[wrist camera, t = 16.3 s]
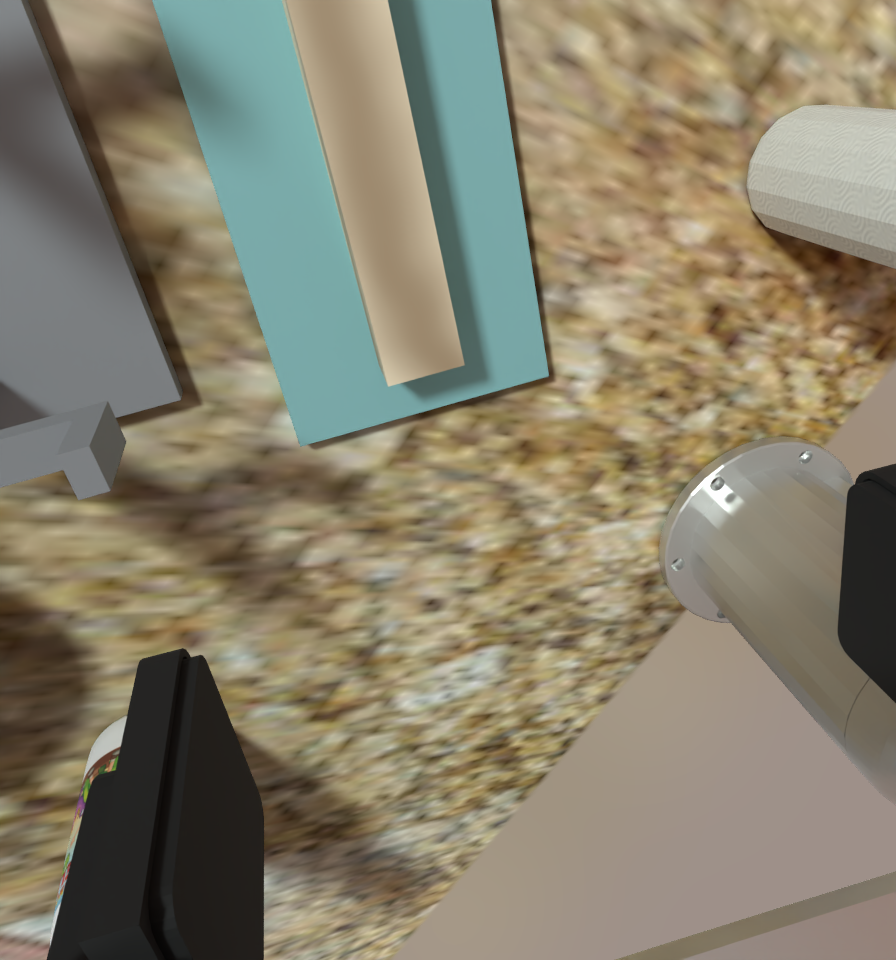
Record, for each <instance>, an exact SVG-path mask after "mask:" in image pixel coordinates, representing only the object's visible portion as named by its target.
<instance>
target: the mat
mask: <svg viewBox="0 0 896 960" xmlns="http://www.w3.org/2000/svg"><path fill="white" fill-rule="evenodd" d="M152 1H153V4H154V7H155V10H156V13H157V16H158V19H159V22H160V25H161V28H162V31H163V34H164V37H165V40H166V43H167V46H168V49H169V52H170V55H171V58H172V61H173V64H174V67H175V70H176V73H177V76H178V79H179V82H180V85H181V88H182V91H183V94H184V97H185V100H186V103H187V106H188V109H189V112H190V115H191V118H192V121H193V124H194V127H195V130H196V133H197V137H198V140H199V143H200V146H201V149H202V152H203V155H204V158H205V161H206V164H207V167H208V170H209V173H210V176H211V179H212V182H213V185H214V188H215V191H216V194H217V197H218V200H219V203H220V206H221V209H222V212H223V215H224V218H225V221H226V224H227V227H228V230H229V233H230V236H231V239H232V242H233V245H234V248H235V251H236V254H237V257H238V260H239V263H240V266H241V269H242V272H243V275H244V278H245V281H246V284H247V287H248V290H249V293H250V296H251V299H252V302H253V305H254V308H255V311H256V314H257V317H258V320H259V323H260V326H261V329H262V332H263V335H264V338H265V341H266V344H267V347H268V350H269V353H270V356H271V359H272V362H273V365H274V369H275V372H276V375H277V378H278V381H279V384H280V387H281V390H282V393H283V396H284V399H285V402H286V405H287V408H288V411H289V414H290V417H291V420H292V423H293V426H294V429H295V432H296V435H297V438H298V441H299V444H300V447H301V446H304V445H308V444H312V443H315V442H319V441H322V440H326V439H329V438H333V437H336V436H340V435H343V434H347V433H350V432H354V431H357V430H361V429H364V428H368V427H372V426H375V425H379V424H382V423H386V422H389V421H393V420H396V419H400V418H403V417H407V416H410V415H414V414H417V413H421V412H424V411H428V410H432V409H435V408H439V407H442V406H446V405H449V404H453V403H456V402H460V401H463V400H467V399H470V398H474V397H477V396H481V395H484V394H488V393H492V392H495V391H499V390H502V389H506V388H509V387H513V386H516V385H520V384H523V383H527V382H530V381H534V380H537V379H541V378H544V377H548V376H549V373H548V366H547V360H546V353H545V347H544V341H543V334H542V328H541V321H540V315H539V308H538V302H537V295H536V289H535V282H534V276H533V269H532V263H531V257H530V250H529V244H528V237H527V231H526V224H525V218H524V211H523V205H522V198H521V192H520V185H519V179H518V172H517V166H516V160H515V153H514V147H513V140H512V134H511V127H510V121H509V114H508V108H507V101H506V95H505V88H504V82H503V76H502V69H501V63H500V56H499V50H498V43H497V37H496V30H495V24H494V17H493V11H492V4H491V0H388V4H389V9H390V13H391V18H392V23H393V27H394V32H395V37H396V42H397V46H398V51H399V56H400V61H401V65H402V70H403V75H404V80H405V84H406V89H407V94H408V99H409V103H410V108H411V113H412V118H413V122H414V127H415V132H416V137H417V141H418V146H419V151H420V156H421V160H422V165H423V170H424V175H425V179H426V184H427V189H428V194H429V198H430V203H431V208H432V212H433V217H434V222H435V227H436V231H437V236H438V241H439V246H440V250H441V255H442V260H443V265H444V269H445V274H446V279H447V284H448V288H449V293H450V298H451V303H452V307H453V312H454V317H455V322H456V326H457V331H458V336H459V341H460V345H461V350H462V355H463V360H464V364H465V365H464V366H460V367H457V368H453V369H449V370H446V371H442V372H439V373H435V374H432V375H428V376H425V377H421V378H418V379H414V380H410V381H407V382H403V383H400V384H396V385H393V386H389V387H388V385H387V383H386V380H385V378H384V376H383V373H382V371H381V369H380V367H379V364H378V360H377V356H376V352H375V349H374V345H373V341H372V337H371V334H370V330H369V326H368V322H367V319H366V315H365V311H364V307H363V304H362V300H361V296H360V292H359V289H358V285H357V281H356V277H355V274H354V270H353V266H352V262H351V259H350V255H349V251H348V247H347V244H346V240H345V236H344V232H343V229H342V225H341V221H340V217H339V214H338V210H337V206H336V202H335V199H334V195H333V191H332V187H331V184H330V180H329V176H328V172H327V169H326V165H325V161H324V157H323V154H322V150H321V146H320V142H319V139H318V135H317V131H316V127H315V123H314V120H313V116H312V112H311V108H310V105H309V101H308V97H307V93H306V90H305V86H304V82H303V78H302V75H301V71H300V67H299V63H298V60H297V56H296V52H295V48H294V45H293V41H292V37H291V33H290V30H289V26H288V22H287V18H286V15H285V11H284V7H283V3H282V0H152Z"/></svg>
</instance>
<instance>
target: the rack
mask: <svg viewBox="0 0 896 960" xmlns="http://www.w3.org/2000/svg"><path fill="white" fill-rule="evenodd" d="M182 393H183V390H182V387H181V385H180V382H179V380H178V377H177V375H176V372H175V370H174V367H173V365H172V362H171V360H170V357H169V355H168V352H167V350H166V347H165V345H164V342H163V340H162V337H161V335H160V332H159V330H158V327H157V325H156V322H155V319H154V317H153V314H152V312H151V309H150V307H149V304H148V302H147V299H146V297H145V294H144V292H143V289H142V287H141V284H140V282H139V279H138V277H137V274H136V272H135V269H134V267H133V264H132V262H131V259H130V257H129V254H128V251H127V249H126V246H125V244H124V241H123V239H122V236H121V234H120V231H119V229H118V226H117V224H116V221H115V219H114V216H113V214H112V211H111V209H110V206H109V204H108V201H107V199H106V196H105V194H104V191H103V189H102V186H101V183H100V181H99V178H98V176H97V173H96V171H95V168H94V166H93V163H92V161H91V158H90V156H89V153H88V151H87V148H86V146H85V143H84V141H83V138H82V136H81V133H80V131H79V128H78V126H77V123H76V121H75V118H74V115H73V113H72V110H71V108H70V105H69V103H68V100H67V98H66V95H65V93H64V90H63V88H62V85H61V83H60V80H59V78H58V75H57V73H56V70H55V68H54V65H53V63H52V60H51V58H50V55H49V53H48V50H47V47H46V45H45V42H44V40H43V37H42V35H41V32H40V30H39V27H38V25H37V22H36V20H35V17H34V15H33V12H32V10H31V7H30V5H29V2H28V0H0V487H4V486H8V485H11V484H15V483H18V482H22V481H25V480H29V479H33V478H36V477H40V476H43V475H47V474H51V473H54V472H58V471H61V470H64V472H65V474H66V476H67V478H68V480H69V482H70V484H71V486H72V488H73V490H74V492H75V494H76V496H77V498H78V500H81V499H84V498H88V497H91V496H95V495H98V494H102V493H106V492H109V491H111V488H112V485H113V482H114V479H115V476H116V472H117V469H118V466H119V463H120V460H121V457H122V454H123V450H124V447H125V444H126V440H125V438H124V435H123V433H122V431H121V429H120V427H119V424H118V422H117V420H116V418H117V417H121V416H124V415H128V414H132V413H135V412H139V411H142V410H146V409H150V408H153V407H157V406H161V405H164V404H168V403H172V402H175V401H179V400H181V398H182Z"/></svg>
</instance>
